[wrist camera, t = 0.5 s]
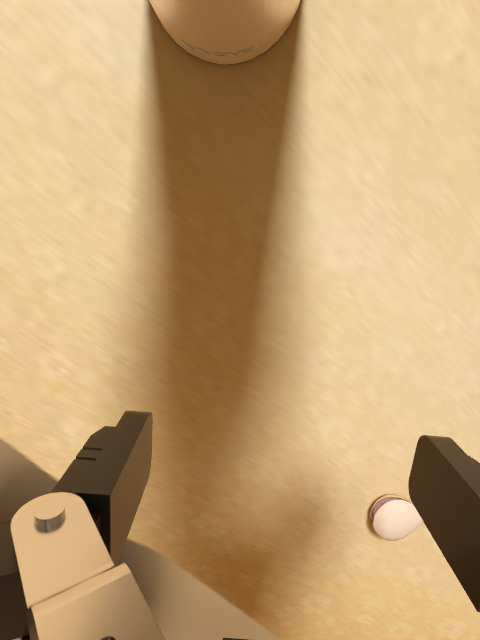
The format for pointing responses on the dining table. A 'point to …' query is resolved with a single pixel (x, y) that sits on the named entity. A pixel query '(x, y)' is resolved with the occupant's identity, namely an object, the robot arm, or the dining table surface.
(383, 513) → the pistachio nut
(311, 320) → the dining table surface
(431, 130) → the dining table surface
